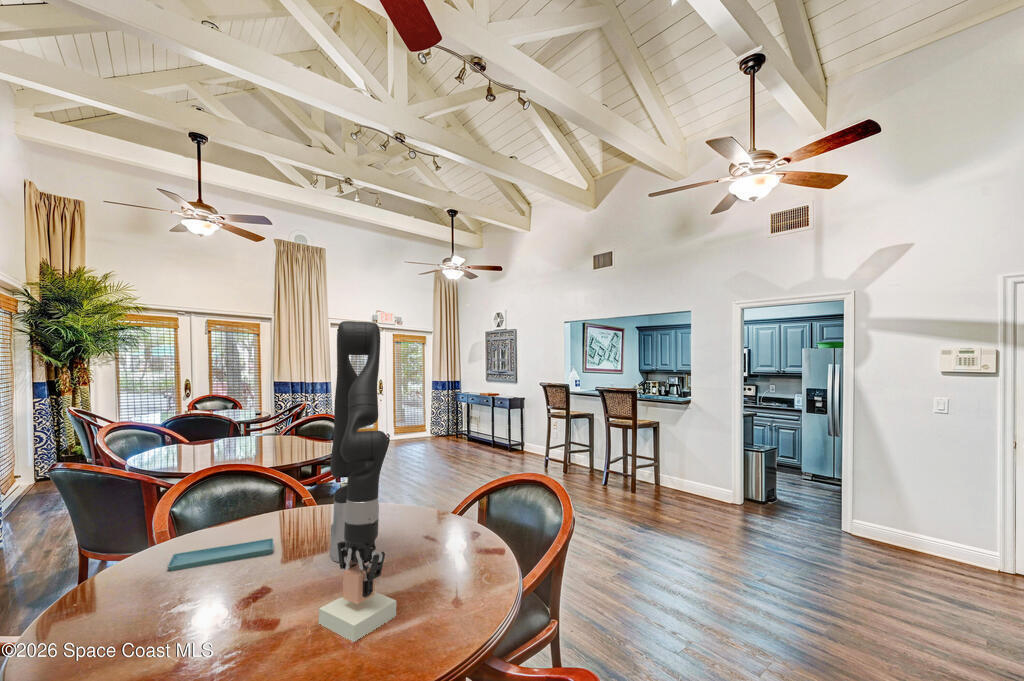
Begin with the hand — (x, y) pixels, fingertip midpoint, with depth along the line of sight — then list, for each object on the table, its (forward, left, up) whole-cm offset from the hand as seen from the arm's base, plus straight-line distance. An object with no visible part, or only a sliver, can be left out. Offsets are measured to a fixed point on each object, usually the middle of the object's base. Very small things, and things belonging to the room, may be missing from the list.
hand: (359, 591), depth 102 cm
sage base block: (0, 0, -7) cm, 7 cm away
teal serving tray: (-60, 0, -7) cm, 60 cm away
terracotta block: (0, 0, -1) cm, 1 cm away
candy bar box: (-52, +39, -7) cm, 65 cm away
